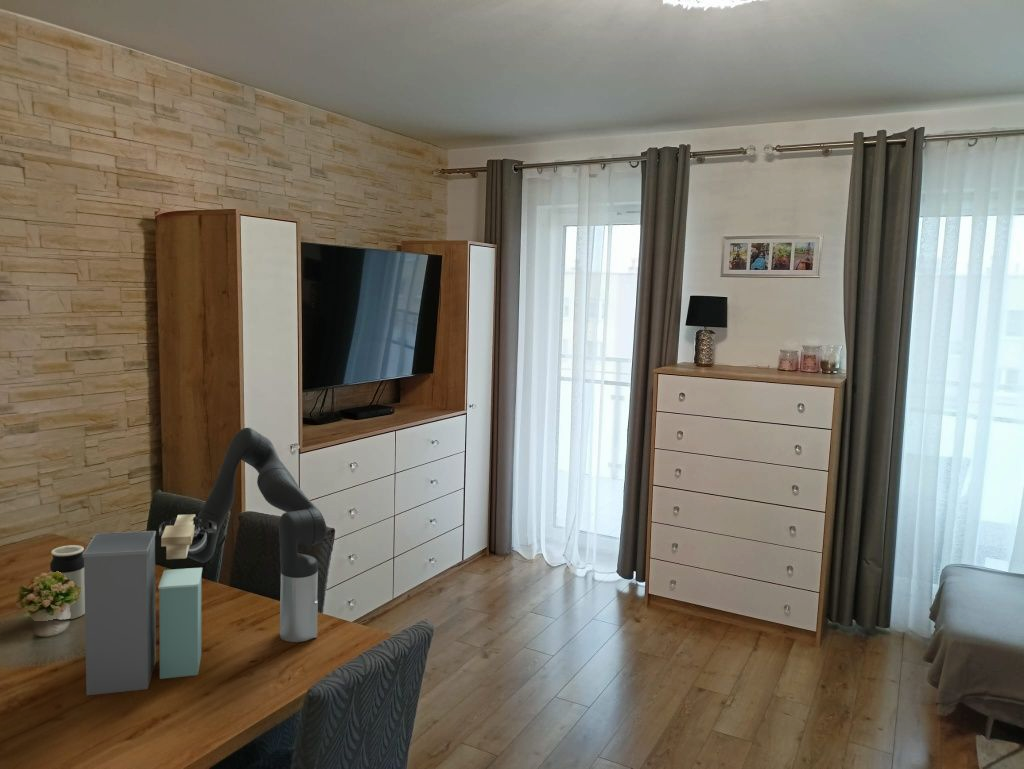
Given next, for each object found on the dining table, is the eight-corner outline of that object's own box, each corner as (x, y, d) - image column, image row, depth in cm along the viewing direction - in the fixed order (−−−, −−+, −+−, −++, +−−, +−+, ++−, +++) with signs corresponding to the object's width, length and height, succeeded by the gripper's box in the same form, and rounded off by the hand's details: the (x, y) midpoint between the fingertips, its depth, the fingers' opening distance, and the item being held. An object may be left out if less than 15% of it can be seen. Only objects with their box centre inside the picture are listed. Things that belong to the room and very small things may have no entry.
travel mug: (85, 618, 197) (83, 553, 195) (49, 623, 194) (48, 556, 192) (87, 606, 204) (86, 543, 202) (53, 610, 201) (51, 546, 199)
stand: (156, 660, 178) (155, 530, 174) (148, 689, 166) (147, 550, 162) (98, 665, 174) (96, 533, 170) (85, 696, 162) (82, 553, 158)
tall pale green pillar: (202, 654, 182) (202, 567, 180) (198, 675, 172) (198, 584, 170) (164, 657, 180) (164, 569, 177) (158, 679, 170) (158, 586, 167)
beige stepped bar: (199, 525, 186) (199, 506, 185) (191, 558, 165) (191, 536, 165) (173, 526, 184) (173, 507, 183) (161, 559, 163) (161, 537, 163)
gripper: (161, 521, 194) (153, 507, 179) (220, 519, 199) (216, 505, 184) (159, 550, 192) (151, 538, 176) (219, 547, 196) (215, 535, 181)
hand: (184, 521), depth 180 cm, fingers closed on beige stepped bar, 4 cm apart
